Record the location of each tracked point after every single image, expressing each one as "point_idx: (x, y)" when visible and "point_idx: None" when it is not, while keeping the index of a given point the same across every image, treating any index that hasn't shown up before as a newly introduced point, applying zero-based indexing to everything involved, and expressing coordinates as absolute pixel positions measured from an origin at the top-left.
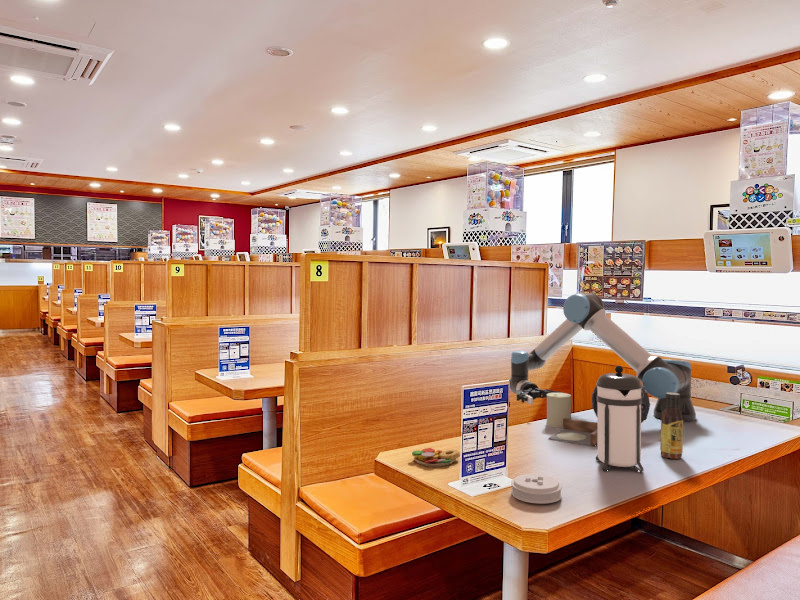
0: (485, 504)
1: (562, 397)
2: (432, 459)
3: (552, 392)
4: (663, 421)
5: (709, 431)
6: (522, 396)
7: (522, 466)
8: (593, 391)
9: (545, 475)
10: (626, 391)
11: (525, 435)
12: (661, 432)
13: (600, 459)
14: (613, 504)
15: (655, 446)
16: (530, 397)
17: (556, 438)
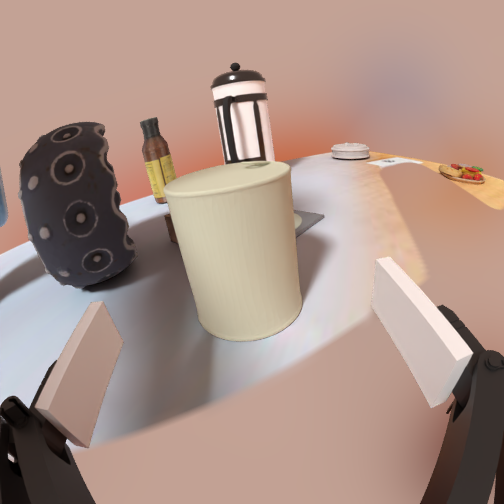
0: (384, 154)
1: (234, 164)
2: (458, 168)
3: (41, 475)
4: (168, 151)
5: (14, 267)
6: (483, 349)
7: (367, 172)
8: (108, 169)
9: (342, 147)
10: (220, 97)
11: (378, 227)
12: (171, 167)
13: None
14: (296, 158)
15: (147, 217)
16: (395, 264)
17: (306, 214)
